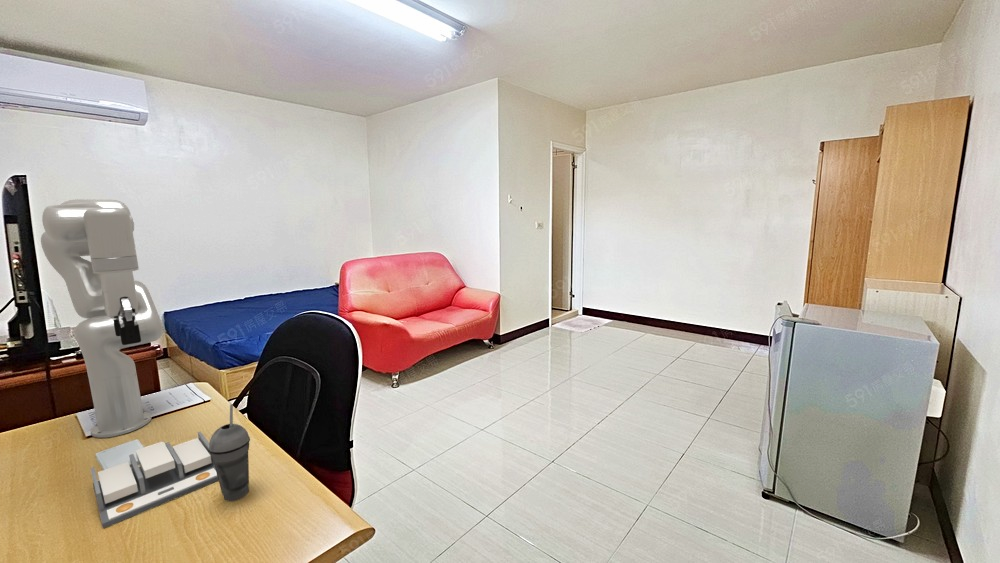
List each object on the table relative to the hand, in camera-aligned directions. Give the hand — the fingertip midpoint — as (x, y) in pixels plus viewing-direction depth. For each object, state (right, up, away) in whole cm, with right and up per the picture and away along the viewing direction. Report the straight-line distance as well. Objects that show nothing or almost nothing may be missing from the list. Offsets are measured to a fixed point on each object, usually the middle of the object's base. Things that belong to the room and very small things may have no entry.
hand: (128, 338), depth 95 cm
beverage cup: (+29, -32, -7) cm, 44 cm away
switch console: (+10, -31, -3) cm, 33 cm away
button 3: (+13, -29, +3) cm, 32 cm away
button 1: (+4, -31, -7) cm, 32 cm away
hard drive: (-6, -31, +6) cm, 32 cm away
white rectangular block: (+8, -28, -3) cm, 29 cm away
